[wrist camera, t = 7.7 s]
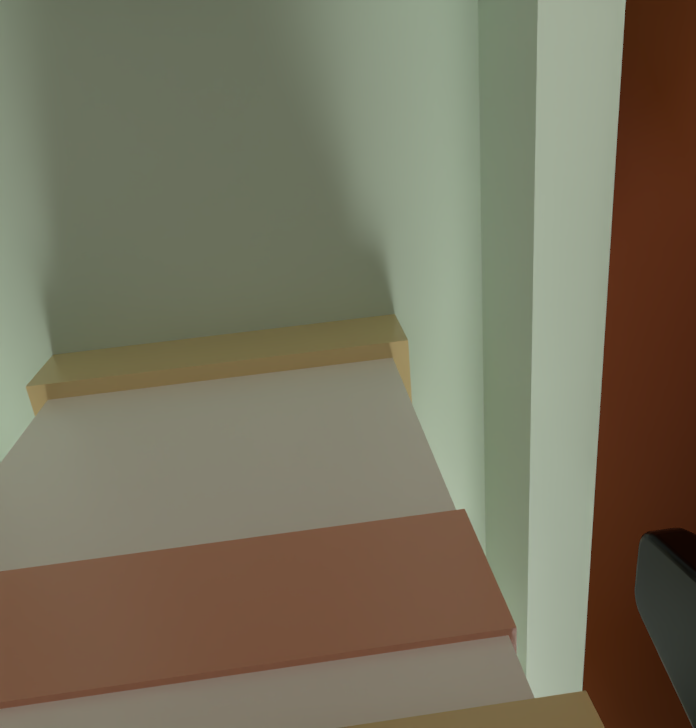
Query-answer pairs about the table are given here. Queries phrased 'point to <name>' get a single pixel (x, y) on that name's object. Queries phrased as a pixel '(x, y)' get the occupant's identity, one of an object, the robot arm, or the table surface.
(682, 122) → the table surface
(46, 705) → the block
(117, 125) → the tray
